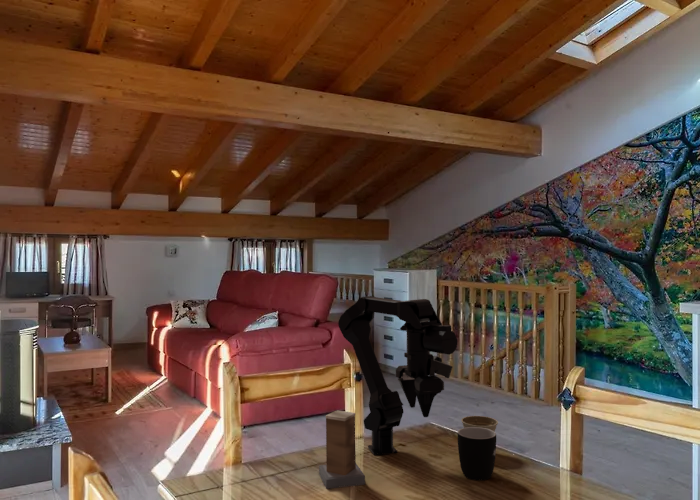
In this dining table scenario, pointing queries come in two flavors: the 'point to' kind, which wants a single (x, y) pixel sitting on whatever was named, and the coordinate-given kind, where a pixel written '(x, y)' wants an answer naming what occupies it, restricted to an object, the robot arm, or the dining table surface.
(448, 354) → the robot arm
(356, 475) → the slate base
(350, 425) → the brown tall rectangular block
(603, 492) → the dining table surface
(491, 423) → the flower pot
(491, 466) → the mug
